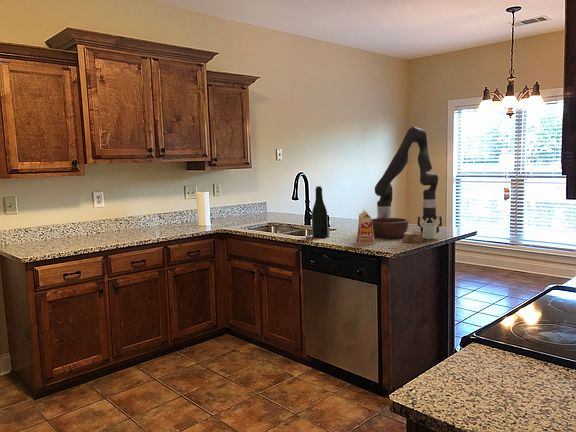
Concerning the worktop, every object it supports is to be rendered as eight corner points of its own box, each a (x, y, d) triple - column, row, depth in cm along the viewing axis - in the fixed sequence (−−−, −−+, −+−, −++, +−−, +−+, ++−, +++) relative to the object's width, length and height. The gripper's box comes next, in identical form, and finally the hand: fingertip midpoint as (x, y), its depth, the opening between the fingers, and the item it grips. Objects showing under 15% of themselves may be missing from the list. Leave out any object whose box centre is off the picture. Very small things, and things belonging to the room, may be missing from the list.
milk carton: (356, 242, 287) (355, 209, 285) (371, 241, 288) (370, 208, 285) (359, 245, 278) (358, 211, 276) (375, 244, 279) (374, 210, 276)
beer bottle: (315, 235, 319) (313, 185, 316) (330, 235, 316) (328, 185, 312) (310, 238, 310) (308, 186, 306) (325, 238, 306) (324, 186, 302)
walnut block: (403, 242, 283) (403, 234, 282) (405, 239, 292) (405, 231, 292) (421, 242, 279) (421, 234, 279) (422, 240, 289) (422, 231, 288)
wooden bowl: (409, 239, 292) (409, 222, 291) (368, 239, 297) (367, 223, 295) (407, 232, 316) (407, 217, 315) (368, 233, 321) (368, 217, 320)
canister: (424, 238, 291) (424, 224, 290) (424, 237, 296) (424, 223, 295) (434, 239, 289) (434, 224, 288) (434, 237, 295) (434, 223, 294)
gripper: (417, 207, 289) (417, 234, 291) (442, 207, 285) (442, 234, 287) (417, 206, 296) (417, 232, 298) (441, 205, 292) (441, 232, 294)
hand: (429, 233), depth 292 cm, fingers open, 8 cm apart
